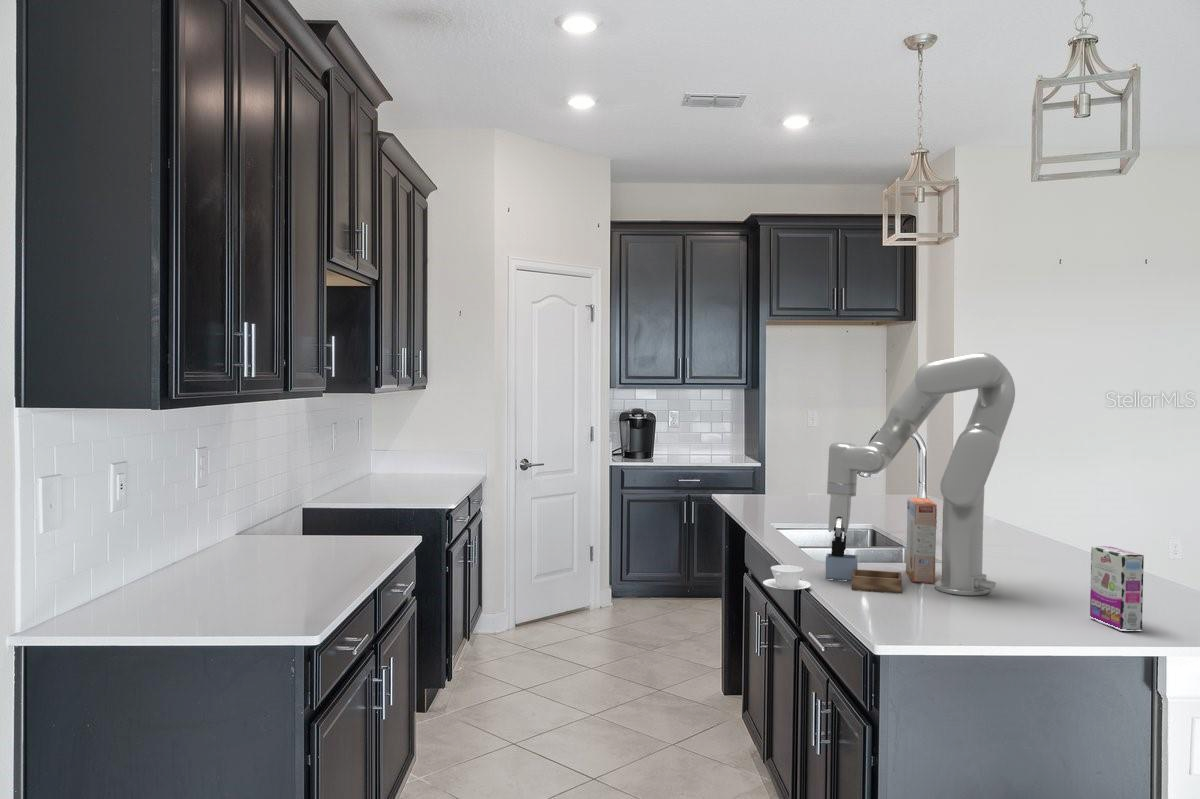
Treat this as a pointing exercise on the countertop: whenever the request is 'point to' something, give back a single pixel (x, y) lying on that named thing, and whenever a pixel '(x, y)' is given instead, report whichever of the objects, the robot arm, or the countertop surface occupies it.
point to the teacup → (787, 578)
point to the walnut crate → (877, 581)
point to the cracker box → (921, 540)
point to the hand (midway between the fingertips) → (838, 553)
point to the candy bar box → (1117, 587)
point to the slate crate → (841, 567)
